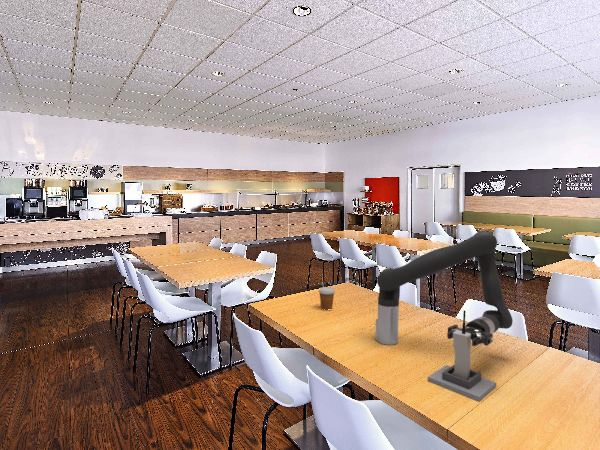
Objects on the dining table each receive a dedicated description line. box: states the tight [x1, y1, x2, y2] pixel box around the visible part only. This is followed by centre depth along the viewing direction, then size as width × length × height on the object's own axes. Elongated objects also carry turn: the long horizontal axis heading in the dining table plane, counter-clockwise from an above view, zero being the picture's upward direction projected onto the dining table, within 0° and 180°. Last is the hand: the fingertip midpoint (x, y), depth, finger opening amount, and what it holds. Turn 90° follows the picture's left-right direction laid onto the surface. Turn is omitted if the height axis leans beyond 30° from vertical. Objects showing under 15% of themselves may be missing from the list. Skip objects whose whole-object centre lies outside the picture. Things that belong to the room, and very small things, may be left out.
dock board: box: [427, 363, 497, 402], centre depth 131 cm, size 18×14×4 cm
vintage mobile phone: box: [452, 310, 472, 380], centre depth 131 cm, size 4×5×25 cm
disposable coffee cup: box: [318, 286, 336, 311], centre depth 217 cm, size 10×10×12 cm
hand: (460, 339), depth 129 cm, fingers open, 8 cm apart
